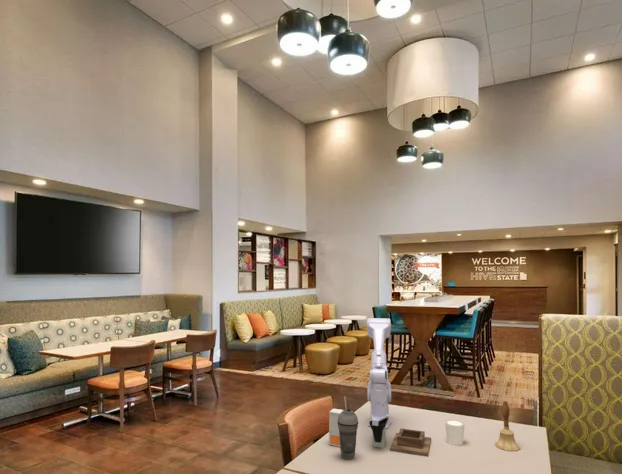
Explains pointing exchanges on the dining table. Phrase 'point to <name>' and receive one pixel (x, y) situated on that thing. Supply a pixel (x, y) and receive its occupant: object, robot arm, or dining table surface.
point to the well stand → (411, 442)
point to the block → (383, 441)
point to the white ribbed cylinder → (454, 432)
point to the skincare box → (334, 427)
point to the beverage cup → (347, 432)
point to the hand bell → (506, 433)
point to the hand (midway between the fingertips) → (379, 439)
